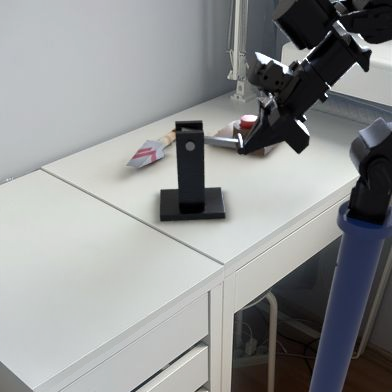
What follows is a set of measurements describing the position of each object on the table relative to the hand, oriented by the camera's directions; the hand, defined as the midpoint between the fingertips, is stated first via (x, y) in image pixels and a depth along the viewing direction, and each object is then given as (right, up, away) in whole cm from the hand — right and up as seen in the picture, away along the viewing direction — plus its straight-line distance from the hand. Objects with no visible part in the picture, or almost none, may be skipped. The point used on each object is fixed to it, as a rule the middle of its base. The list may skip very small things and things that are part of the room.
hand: (242, 152), depth 82 cm
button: (+3, +14, +23) cm, 27 cm away
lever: (-5, 0, -1) cm, 5 cm away
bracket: (-8, -7, +7) cm, 13 cm away
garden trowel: (-16, +8, +22) cm, 28 cm away
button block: (+4, +12, +25) cm, 28 cm away
